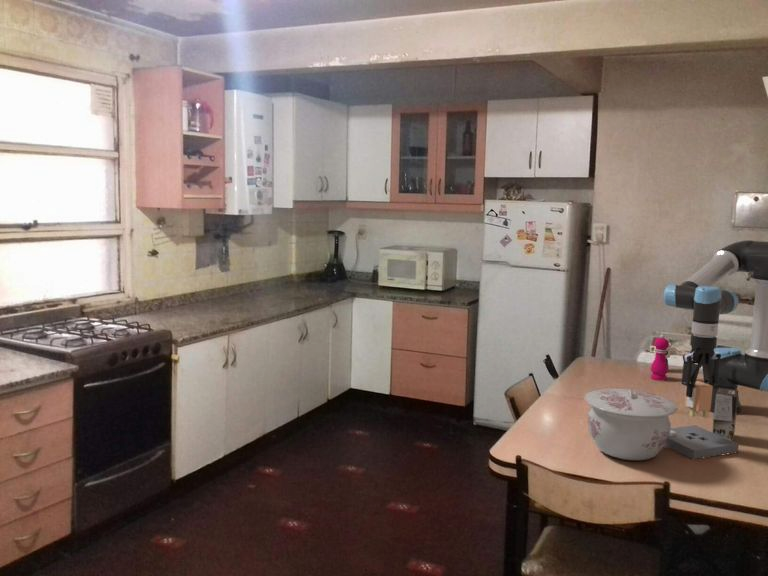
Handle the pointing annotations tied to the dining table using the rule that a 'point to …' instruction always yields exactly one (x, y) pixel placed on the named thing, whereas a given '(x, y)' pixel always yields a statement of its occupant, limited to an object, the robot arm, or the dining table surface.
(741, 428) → the dining table surface
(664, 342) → the pepper mill
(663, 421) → the chamber pot
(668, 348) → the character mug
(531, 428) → the dining table surface
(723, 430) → the coffee box
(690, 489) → the dining table surface
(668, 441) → the socket plate
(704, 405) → the tan rectangular block
